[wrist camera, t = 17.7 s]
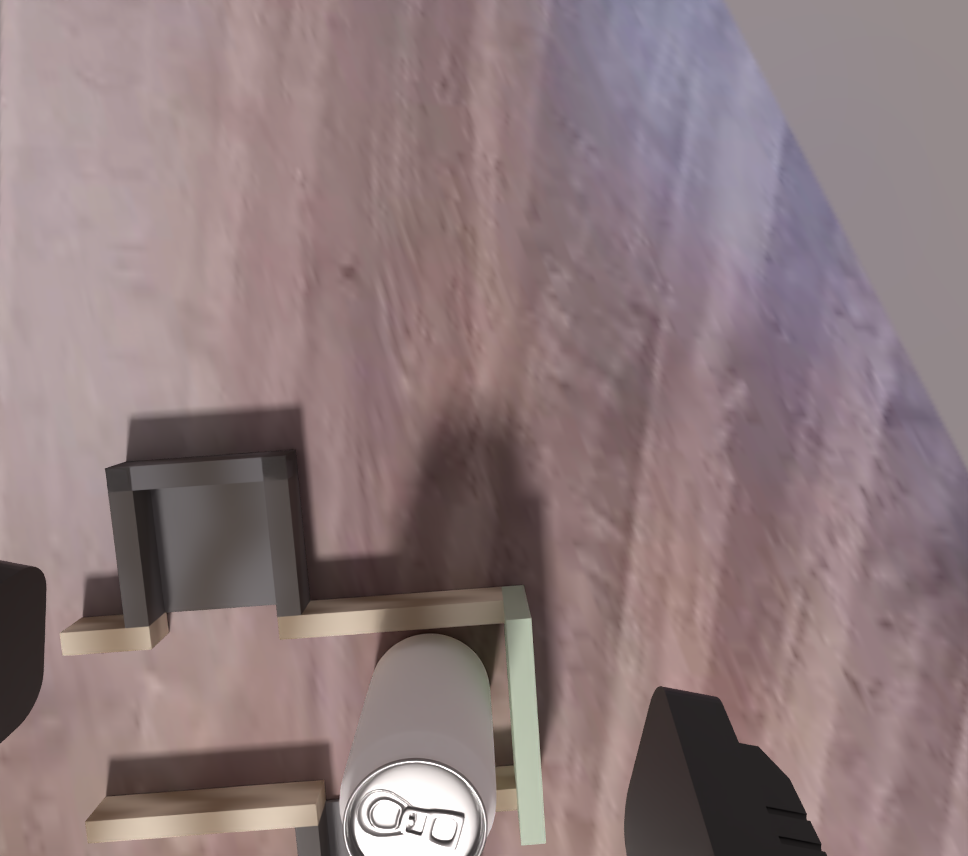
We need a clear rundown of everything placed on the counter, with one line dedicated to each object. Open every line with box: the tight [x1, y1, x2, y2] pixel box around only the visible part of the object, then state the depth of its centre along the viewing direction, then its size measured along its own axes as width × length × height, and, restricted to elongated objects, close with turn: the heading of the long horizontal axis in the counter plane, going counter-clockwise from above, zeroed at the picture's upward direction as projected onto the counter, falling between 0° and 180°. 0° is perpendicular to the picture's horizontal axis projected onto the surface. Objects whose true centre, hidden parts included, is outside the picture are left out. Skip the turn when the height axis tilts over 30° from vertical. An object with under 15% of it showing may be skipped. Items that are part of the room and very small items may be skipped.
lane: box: [60, 450, 525, 856], centre depth 40 cm, size 24×28×2 cm
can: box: [339, 633, 496, 856], centre depth 35 cm, size 6×6×12 cm
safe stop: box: [502, 585, 546, 845], centre depth 38 cm, size 1×11×5 cm, turn 4°
